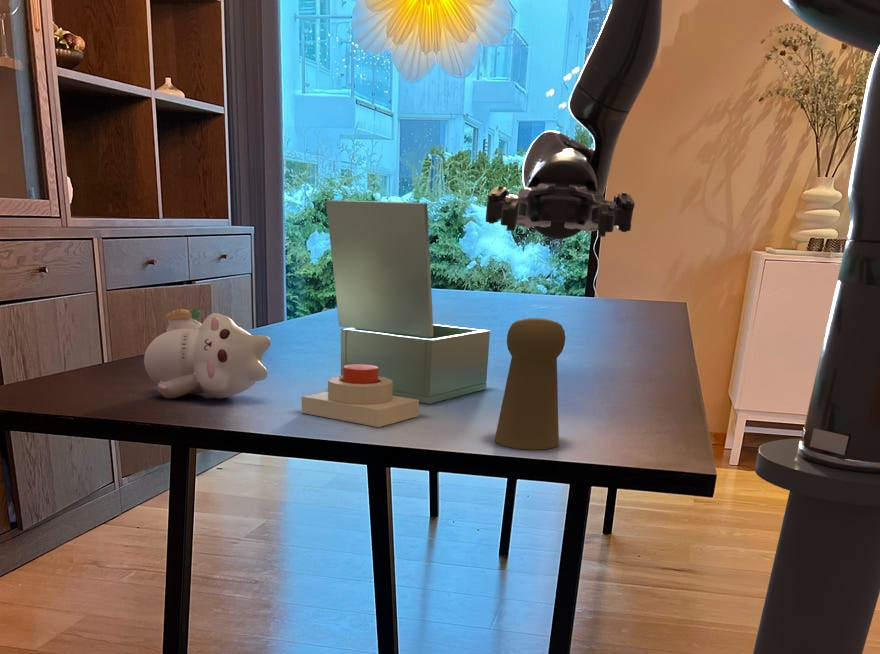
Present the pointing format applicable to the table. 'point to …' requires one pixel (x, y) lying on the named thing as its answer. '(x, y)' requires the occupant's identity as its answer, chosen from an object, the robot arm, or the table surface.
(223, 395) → the cat figurine
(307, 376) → the table surface
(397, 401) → the panel
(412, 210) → the box lid
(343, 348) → the open box
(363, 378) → the button
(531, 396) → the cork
